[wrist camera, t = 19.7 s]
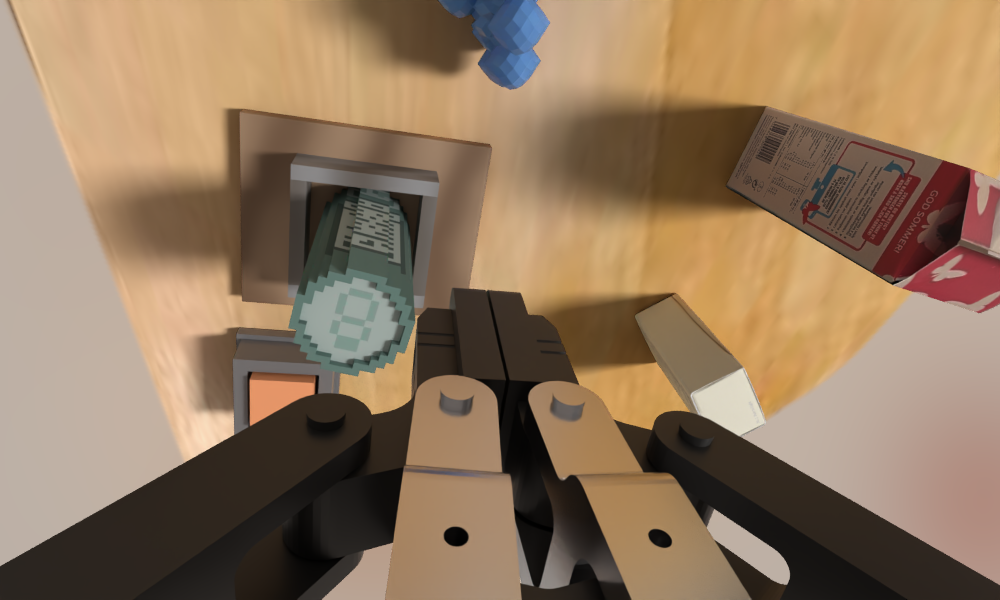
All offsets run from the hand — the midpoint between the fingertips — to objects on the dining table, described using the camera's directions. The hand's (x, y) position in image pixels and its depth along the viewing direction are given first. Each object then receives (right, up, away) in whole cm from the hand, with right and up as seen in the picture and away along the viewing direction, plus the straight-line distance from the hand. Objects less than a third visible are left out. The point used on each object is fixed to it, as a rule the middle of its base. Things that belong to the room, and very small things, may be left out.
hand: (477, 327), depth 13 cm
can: (-9, +6, +31) cm, 33 cm away
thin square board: (-10, +7, +32) cm, 34 cm away
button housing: (-17, -5, +37) cm, 41 cm away
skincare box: (+15, -2, +41) cm, 44 cm away
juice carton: (+23, +12, +35) cm, 44 cm away
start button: (-17, -6, +36) cm, 40 cm away
